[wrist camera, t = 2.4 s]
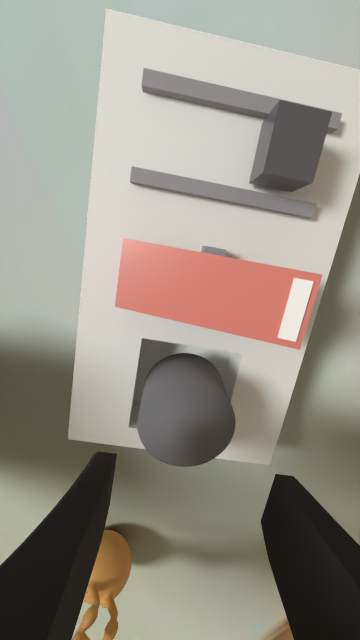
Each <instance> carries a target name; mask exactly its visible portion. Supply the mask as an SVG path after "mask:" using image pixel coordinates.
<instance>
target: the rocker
mask: <svg viewBox="0 0 360 640" xmlns="http://www.w3.org/2000/svg"><path fill="white" fill-rule="evenodd" d="M321 278H322V274H317V273H312V272H306V271H301V270H295V269H290V268H284V267H279V266H274V265H268V264H263V263H257V262H252V261H246V260H241V259H236V258H230V257H225V256H219V255H214V254H208V253H203V252H198V251H192V250H187V249H181V248H176V247H171V246H165V245H160V244H154V243H149V242H143V241H138V240H132V239H127V238H123V243H122V251H121V259H120V268H119V276H118V284H117V292H116V300H115V307H118V308H122V309H127V310H131V311H135V312H140V313H144V314H148V315H152V316H157V317H161V318H165V319H170V320H174V321H178V322H182V323H187V324H191V325H195V326H200V327H204V328H208V329H213V330H217V331H221V332H225V333H230V334H234V335H238V336H243V337H247V338H251V339H255V340H260V341H264V342H268V343H273V344H277V345H281V346H285V347H290V348H294V349H298V350H300V348H301V345H302V341H303V338H304V335H305V331H306V328H307V325H308V321H309V318H310V315H311V312H312V308H313V305H314V302H315V298H316V295H317V292H318V288H319V285H320V282H321Z"/></svg>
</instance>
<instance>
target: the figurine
mask: <svg viewBox="0 0 360 640" xmlns="http://www.w3.org/2000/svg"><path fill="white" fill-rule="evenodd" d="M130 570H131V552H130V548H129V546H128V544H127V542H126V540H125V539H124V538H123V536H121V535H120V534H119V533H117V532H115V531H112V530H104V532H103V537H102V541H101V544H100V548H99V551H98V554H97V558H96V561H95V564H94V567H93V571H92V574H91V577H90V580H89V584H88V587H87V590H86V593H85V597H84V601H85V602H87V603H89V604H92V606H91V607H90V608H89V609H88V610H87V611H86V612H85V614H84V616H83V619H82V622H81V624H80V626H79V628H78V630H77V632H76V634H75V635H74V637H73V638H72V640H90V639H89V638H88V637H87V635H86V634H85V631H86V630H87V629H88V628H89V627H91V626H92V624H93V623H94V622H95V620H96V618H97V615H98V608H99V605H102V607H103V608H106V607H107V609H108V611H109V613H110V616H111V619H110V621H109V622H108V624H107V626H106V628H105V633H104V637H103V640H113V638H114V637H115V635H116V633H117V630H118V622H117V615H118V611H117V608H116V605H115V602H114V598H115V597H116V596H117V595H118V594H119V593H120V592H121V591H122V589H123V588H124V586H125V584H126V582H127V580H128V577H129V574H130Z"/></svg>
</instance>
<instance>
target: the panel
mask: <svg viewBox="0 0 360 640" xmlns="http://www.w3.org/2000/svg"><path fill="white" fill-rule="evenodd" d="M279 100H283V101H287V102H292V103H296V104H300V105H305V106H309V107H314V108H318V109H322V110H327V111H331V112H332V115H331V119H330V123H329V126H328V130H327V134H326V137H325V141H324V145H323V148H322V152H321V156H320V159H319V163H318V167H317V170H316V174H315V178H314V181H313V183H311V184H309V185H307V186H305V187H302V188H300V189H298V190H296V191H293V192H288V191H283V190H278V189H273V188H269V187H264V186H259V185H254V184H249V181H250V176H251V172H252V167H253V163H254V158H255V154H256V149H257V145H258V140H259V135H260V131H261V126H262V123H263V121H264V120H265V119H266V117H267V116H268V115H269V113H270V112H271V111H272V109H273V108H274V107H275V105H276V104H277V103H278V101H279ZM359 174H360V70H359V69H355V68H350V67H346V66H342V65H338V64H334V63H330V62H326V61H321V60H317V59H313V58H309V57H305V56H301V55H297V54H293V53H288V52H284V51H280V50H276V49H272V48H268V47H264V46H259V45H255V44H251V43H247V42H243V41H239V40H235V39H230V38H226V37H222V36H218V35H214V34H210V33H206V32H202V31H197V30H193V29H189V28H185V27H181V26H177V25H173V24H168V23H164V22H160V21H156V20H152V19H148V18H144V17H140V16H135V15H131V14H127V13H123V12H119V11H115V10H111V9H106V17H105V28H104V39H103V50H102V61H101V73H100V84H99V95H98V106H97V117H96V128H95V139H94V151H93V162H92V173H91V184H90V195H89V206H88V217H87V229H86V240H85V251H84V262H83V273H82V284H81V296H80V307H79V318H78V329H77V340H76V351H75V362H74V374H73V385H72V396H71V407H70V418H69V429H68V439H69V440H77V441H85V442H92V443H100V444H108V445H116V446H124V447H131V448H139V449H146V448H145V447H144V446H143V444H142V442H141V440H140V437H139V434H138V429H137V421H138V414H139V409H140V404H141V399H142V394H143V389H144V384H145V379H146V377H147V375H148V373H149V371H150V370H151V368H152V367H153V366H154V365H155V364H156V363H157V362H159V361H160V360H161V359H163V358H165V357H167V356H170V355H173V354H178V353H191V354H195V355H198V356H201V357H203V358H205V359H207V360H208V361H210V362H211V363H212V364H213V365H214V366H215V367H216V369H217V370H218V372H219V374H220V376H221V378H222V381H223V384H224V386H225V389H226V392H227V394H228V397H229V399H230V402H231V405H232V407H233V410H234V414H235V420H236V423H235V431H234V435H233V437H232V439H231V441H230V443H229V445H228V446H227V447H226V449H225V450H224V451H223V452H222V453H221V454H219V455H218V456H217V457H215V458H217V459H225V460H233V461H240V462H248V463H256V464H264V465H270V464H271V461H272V457H273V454H274V451H275V448H276V444H277V441H278V438H279V435H280V431H281V428H282V425H283V422H284V418H285V415H286V412H287V409H288V405H289V402H290V399H291V396H292V392H293V389H294V386H295V383H296V379H297V376H298V373H299V370H300V366H301V363H302V360H303V357H304V353H305V350H306V347H307V344H308V340H309V337H310V334H311V331H312V327H313V324H314V321H315V318H316V314H317V311H318V308H319V305H320V301H321V298H322V295H323V292H324V288H325V285H326V282H327V279H328V275H329V272H330V269H331V266H332V262H333V259H334V256H335V253H336V249H337V246H338V243H339V240H340V236H341V233H342V230H343V226H344V223H345V220H346V217H347V213H348V210H349V207H350V204H351V200H352V197H353V194H354V191H355V187H356V184H357V181H358V178H359ZM123 238H127V239H132V240H138V241H143V242H149V243H154V244H160V245H165V246H171V247H176V248H181V249H187V250H192V251H198V252H203V253H208V254H214V255H219V256H225V257H230V258H236V259H241V260H246V261H252V262H257V263H263V264H268V265H274V266H279V267H284V268H290V269H295V270H301V271H306V272H312V273H317V274H322V278H321V282H320V285H319V288H318V292H317V295H316V298H315V302H314V305H313V308H312V312H311V315H310V318H309V321H308V325H307V328H306V331H305V335H304V338H303V341H302V345H301V348H300V350H298V349H294V348H290V347H285V346H281V345H277V344H273V343H268V342H264V341H260V340H255V339H251V338H247V337H243V336H238V335H234V334H230V333H225V332H221V331H217V330H213V329H208V328H204V327H200V326H195V325H191V324H187V323H182V322H178V321H174V320H170V319H165V318H161V317H157V316H152V315H148V314H144V313H140V312H135V311H131V310H127V309H122V308H118V307H115V300H116V292H117V284H118V276H119V268H120V259H121V251H122V243H123Z"/></svg>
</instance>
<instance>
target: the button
mask: <svg viewBox="0 0 360 640" xmlns="http://www.w3.org/2000/svg"><path fill="white" fill-rule="evenodd" d="M235 423H236V420H235V414H234V410H233V407H232V405H231V402H230V399H229V397H228V394H227V392H226V389H225V386H224V384H223V381H222V378H221V376H220V374H219V372H218V370H217V369H216V367H215V366H214V365H213V364H212V363H211V362H210V361H208V360H207V359H205V358H203V357H201V356H198V355H195V354H191V353H178V354H173V355H170V356H167V357H165V358H163V359H161V360H160V361H159V362H157V363H156V364H155V365H154V366H153V367H152V368H151V370H150V371H149V373H148V375H147V377H146V379H145V384H144V389H143V394H142V399H141V404H140V409H139V414H138V421H137V429H138V434H139V437H140V440H141V442H142V444H143V446H144V447H145V448H146V450H147V451H148V452H149V453H150V454H151V455H153V456H154V457H155V458H157V459H158V460H160V461H162V462H165V463H167V464H170V465H175V466H184V467H185V466H196V465H200V464H203V463H206V462H208V461H210V460H212V459H214V458H215V457H217V456H218V455H219V454H221V453H222V452H223V451H224V450H225V449H226V447H227V446H228V445H229V443H230V441H231V439H232V437H233V435H234V431H235Z"/></svg>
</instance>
